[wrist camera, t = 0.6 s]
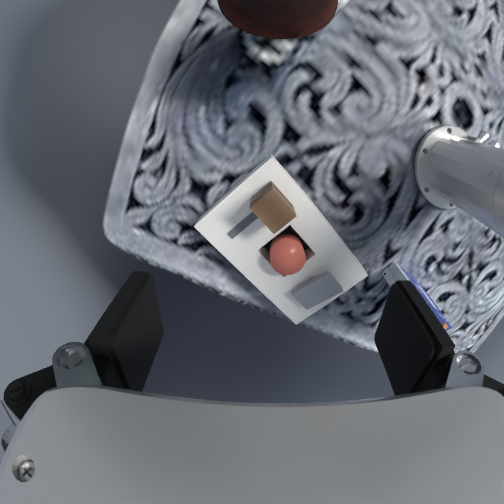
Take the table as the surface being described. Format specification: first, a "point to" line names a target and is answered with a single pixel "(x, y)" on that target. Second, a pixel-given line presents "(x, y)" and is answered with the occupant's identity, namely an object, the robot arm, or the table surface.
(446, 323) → the walkman
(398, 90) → the table surface
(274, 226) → the walnut slider
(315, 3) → the decorative mushroom
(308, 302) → the grey rocker
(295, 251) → the red button
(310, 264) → the control panel
